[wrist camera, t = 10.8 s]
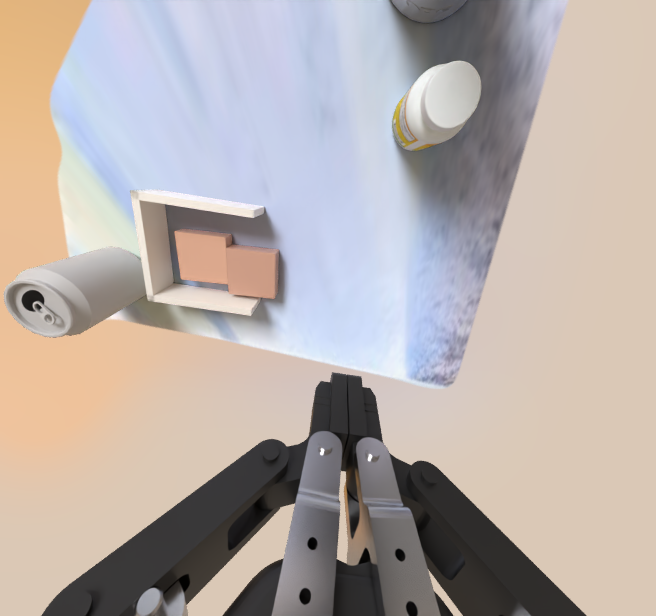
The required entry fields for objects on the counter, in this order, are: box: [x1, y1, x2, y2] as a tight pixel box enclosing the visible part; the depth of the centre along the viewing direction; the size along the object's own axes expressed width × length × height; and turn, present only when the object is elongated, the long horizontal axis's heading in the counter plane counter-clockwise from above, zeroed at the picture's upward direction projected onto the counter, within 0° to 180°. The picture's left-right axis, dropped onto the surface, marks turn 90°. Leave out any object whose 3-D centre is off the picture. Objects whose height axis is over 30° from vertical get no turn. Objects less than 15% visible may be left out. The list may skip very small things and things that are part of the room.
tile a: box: [174, 229, 232, 284], centre depth 34 cm, size 6×6×2 cm
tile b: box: [226, 244, 279, 299], centre depth 35 cm, size 6×6×2 cm
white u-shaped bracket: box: [130, 190, 264, 316], centre depth 32 cm, size 13×13×4 cm
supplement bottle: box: [392, 61, 481, 151], centre depth 24 cm, size 5×5×10 cm
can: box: [4, 247, 146, 338], centre depth 31 cm, size 8×8×12 cm
